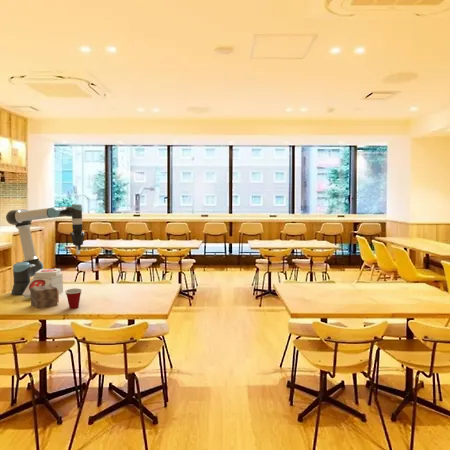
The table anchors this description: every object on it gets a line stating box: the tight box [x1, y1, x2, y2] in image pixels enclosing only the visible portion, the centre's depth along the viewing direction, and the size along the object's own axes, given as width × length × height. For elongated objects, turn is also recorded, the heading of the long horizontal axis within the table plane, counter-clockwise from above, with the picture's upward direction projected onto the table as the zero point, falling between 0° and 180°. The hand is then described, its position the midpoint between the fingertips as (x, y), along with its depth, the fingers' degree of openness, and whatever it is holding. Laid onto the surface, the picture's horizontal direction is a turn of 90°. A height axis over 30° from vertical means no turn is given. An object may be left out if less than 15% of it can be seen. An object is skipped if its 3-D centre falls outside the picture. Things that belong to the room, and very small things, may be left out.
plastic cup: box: [64, 288, 83, 310], centre depth 297 cm, size 11×11×12 cm
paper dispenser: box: [22, 268, 64, 299], centre depth 332 cm, size 19×30×18 cm, turn 167°
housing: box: [30, 285, 58, 310], centre depth 304 cm, size 13×14×12 cm
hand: (78, 253), depth 345 cm, fingers closed
